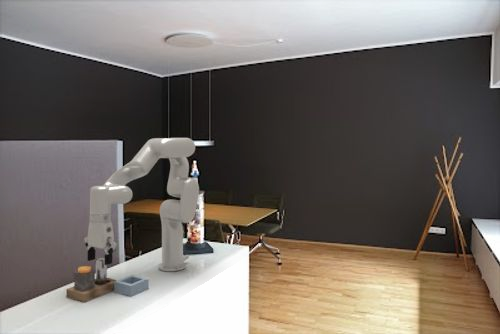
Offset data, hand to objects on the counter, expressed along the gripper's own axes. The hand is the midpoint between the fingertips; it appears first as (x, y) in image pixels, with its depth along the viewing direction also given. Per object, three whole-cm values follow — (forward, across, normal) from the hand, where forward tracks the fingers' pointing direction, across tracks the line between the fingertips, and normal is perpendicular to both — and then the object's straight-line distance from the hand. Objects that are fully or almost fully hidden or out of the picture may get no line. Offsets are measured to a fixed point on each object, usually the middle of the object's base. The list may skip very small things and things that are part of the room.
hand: (99, 262), depth 148 cm
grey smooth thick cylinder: (+11, 0, -1) cm, 11 cm away
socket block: (+11, 0, +3) cm, 11 cm away
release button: (+8, 0, +7) cm, 10 cm away
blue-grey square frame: (+11, -11, -6) cm, 16 cm away
